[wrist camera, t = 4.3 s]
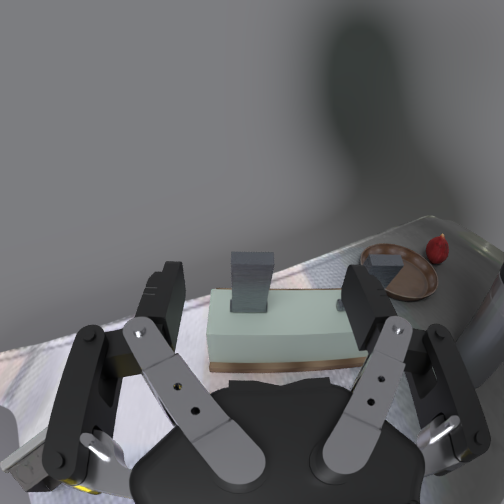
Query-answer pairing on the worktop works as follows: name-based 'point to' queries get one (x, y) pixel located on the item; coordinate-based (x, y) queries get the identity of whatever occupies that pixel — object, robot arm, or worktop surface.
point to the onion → (437, 249)
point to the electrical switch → (30, 466)
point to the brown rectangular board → (286, 365)
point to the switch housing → (281, 329)
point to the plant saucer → (407, 273)
